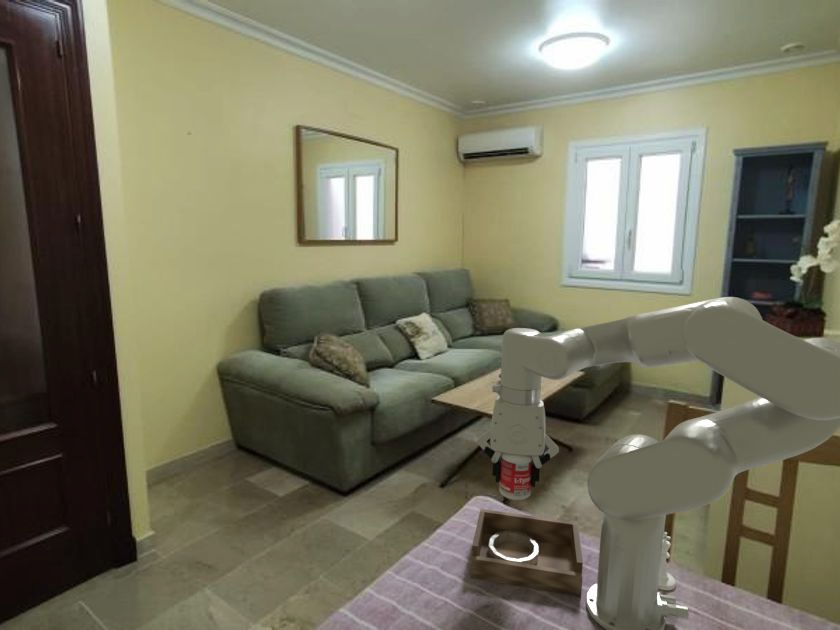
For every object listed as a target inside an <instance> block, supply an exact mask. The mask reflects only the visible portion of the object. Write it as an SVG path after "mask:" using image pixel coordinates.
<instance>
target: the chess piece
mask: <svg viewBox="0 0 840 630" xmlns="http://www.w3.org/2000/svg"><path fill="white" fill-rule="evenodd" d="M670 541H671V536H668V532H667V531H664V537H663V545H662V555H661V565H660V575H659V585H658V590H663V591H672V590H674V589H675V588H676V579H675V578H674V577H673V575H672V574H671V573H668V572H667V559H670V558H671V555H670V553H669V552H668V551H669V549H670V547H671V545H672V544H671V542H670Z"/></svg>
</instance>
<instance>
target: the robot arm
mask: <svg viewBox="0 0 840 630" xmlns="http://www.w3.org/2000/svg"><path fill="white" fill-rule="evenodd" d="M759 311H760V310H758V308H757V307H756V306H754V304H752V302H749V301H747V300H746V299H743V298H740V297H735V296H726V297H725V296H724V297H718V298H712V299H706V300H702V301H697V302H692V303H687V304H683V305H678V306H674V307H669V308H664V309H659V310H654V311H648V312H644V313H639V314H635V315H630V316H627V317H625V318H622V319H617V320H612V321H607V322H602V323H597V324H592V325H587V326H583V327H578V328H574V329H569V330H565V331H562V332H559V333H557V334H553V335H549V336H543V334H542V332H540V331H539V330H537V329H533V328H524V327H513V328H508V329H507V330H505V331H504V333H503V335H502V340H501V341H502V342H501V345H502V346H501V363H500V382H499V383H498V384H496V385H492V390H491V391H492V393H496V394H498V396H497V397H496V399H495V402H494V405H493V410H492V415H491V416H492V417H491V426H490V428H488V429H487V431H485V432H484V433H482V434H481V435H480V436H479V437H478V438H477V440H476V443H477V445H478V446H479V447H480V448H481V449H482V450H483V452H484V453H485V454H486V455H487V456H488V457H489V459H490V460H491V462H492V473H491V474H492V476H493V477H495V483H497V484H499V481H500V461H501V454H502V453H508V454H516V455H524V456H532V459H533V465H532V481H531V488H536V482H538V483H539V482H540V474H541V473H540V471H541V468H542V466H543V465H545V464H546V463H548V461H550V460H551V459H552V458H554V457H555V456H556V455H557V454H559V452H560V448H559V446H558V445H557V443H555V441H553V439H552V438H551V437H550V436H549V435H548V434H547V433H546V411H545V410H546V409H545V405H544V401H543V400H542V399H541V390H542V389H541V388H542V378H545V379H549V380H552V381H560V380H563V379H566V378H567V377H569V376H572V375H574V374H575V373H576V372H577V373H578V372H579V371H581V370H583V369H586V368H591V367H596V366H602V365H607V364H608V365H609V364H615V363H632V364H636V365H638V366H640V367H643V368H655V367H656V368H657V367H663V366H670V365H675V364H683V363H690V362H691V363H692V362H698V361H699V363H701V364H703V365H704V366H706V367H708V368H710V369H711V370H713V371H714V372H715V373H718V374H719V375H721V376H722V377H724V378H727V379H728V380H730V381H731V382H733V383H735V384H736V385H739V386H740V387H742V388H744V389H746V390H747V391H749V392H750V393H751V392H752V393H753V394H754V395H756V396H758V397H756V398H754V399H751V400H749V401H746V402H743V403H740V404H738V405H735V406H731V407H729V408H726V409H723V410H719V411H715V412H713V413H710V414H706V415H703V416H700V417H696V418H691V419H688V420H687V419H686V420H685V421H683V422H681V423H679V424H677V425H676V426H675V427H673V429H672V430H671V431H670V432H669V433H668V434H667V436H666V437H665V438H664V439H663V440H660V441H658V440H657V439H655V438H653V437H652V436H649V435H645V434H629V435H626V436H625V437H622V438H621V439H619V440H617V441H615V442H614V444H613V445H611V447H609V448H608V449H607V450H606V451H605V452H604V454H603V455H601V456H600V457H599V458H598V460H597V461H596V462H595V463H594V464H593V465H592V467H591V468H590V471H589V473H588V475H587V483H586V484H587V491H588V496H589V497H590V500H591V501H592V503H593V505H595V507H596V508H597V509H598V510H599V511H600V512H601V513H602V516H601V527H600V538H599V539H600V541H599V554H598V567H597V581H596V583H595V584H593V585H592V586H591V587H590V588H589V589H588V591H587V593H586V598H585V599H586V601H585V602H586V608H587V611H588V613H589V614H590V617H592V619H593V620H594V621H595V623H598V624H599V625H600V626H601V627H602V628H604V629H605V630H665V628H666V621H667V620H666V618H668V616H669V617H670V616H671V617H674V618H678V619H683V620H689V617H690V615H689V608H688V606H687V605H682V604H677V597H676V596H674V595H669V594H662V593H661V592H659V589H658V585H659V575H660V565H661V555H662V545H663V539H664V538H663V537H664V532H665V526H666V525H665V524H666V520H667V519H666V517H667V515H672V514H677V513H681V512H685V511H686V512H687V511H690V510H696V509H700V508H703V507H705V506H708V505H710V504H713V503H714V502H716V501H718V500H719V499H721V498H722V497H723V496H725V494H727V492H728V490H729V489H730V488H731V486H732V484H733V481H734V479H735V477H736V476H738V474H740V473H742V472H746V471H748V470H752V469H756V468H760V467H764V466H766V465H770V464H773V463H776V462H780V461H783V460H787V459H790V458H793V457H797V456H798V455H799V456H800V455H801V454H804V453H807V452H809V451H811V450H813V449H815V448H816V447H817V448H818V446H820V445H821V444H823V443H825V442H826V441H828V440H829V439H830V438H831V437H832V436H834V434H835V433H836V432H838V430H840V342H839V341H838V340H835V339H831V338H826V337H811V338H805V339H803V338H800V337H798V336H796V335H793V334H791V333H789V332H787V331H784V330H783V329H780V328H778V326H777V327H776V326H774V325H773V324H770V323H768V322H767V321H765V320H763V317H762V316H761V313H760V312H759ZM488 440H490V441H489V442H490V443H488ZM546 447H547V448H548V449H547V450H546V451H545V449H546Z"/></svg>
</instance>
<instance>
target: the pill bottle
mask: <svg viewBox="0 0 840 630" xmlns="http://www.w3.org/2000/svg"><path fill="white" fill-rule="evenodd" d="M500 458H501V461H500V480H499V482H498V487H499V488H498V491H499V493H500V494H501V495H502V496H503V497H505V498H506V499H509V500H512V501H522V500H526V499H527V498H529V497H530V496H531V493H532V486H531V481H532V465H533V462H534V461H533V459H532V456H524V455H516V454H508V453H502V454H501V456H500Z"/></svg>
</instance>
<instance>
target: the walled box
mask: <svg viewBox="0 0 840 630" xmlns="http://www.w3.org/2000/svg"><path fill="white" fill-rule="evenodd" d="M578 525H579V524H578V522H576V521H570V520H569V521H568V520H563V519H555V518H549V517H541V516H540V517H539V516H533V515H528V514H527V515H526V514H518V513H513V512H512V513H510V512H505V511H498V510H491V509H483V508H480V510H479V513H478V519H477V522H476V528H475V533H474V536H473V541H472V547H471V551H472V552H471V559H470V560H471V561H470V562H471V563H470V564H471V565H470V578H471V579H475V580H476V579H477V580H483V581H488V582H493V583H494V582H495V583H498V584H499V583H501V584H504V585H505V584H506V585H511V586H512V585H513V586H518V587H523V588H529V589H534V590H540V591H546V592H553V593H557V594H558V593H559V594H563V595H564V594H565V595H569V596H576V597H580V598H581V597H582V589H583V578H584V577H583V568H584V567H583V565H584V563H583V561H584V560H583V555H582V547H581V541H580V531H579V526H578ZM503 531H515V532H521V533H523V534H525V535H527V536H529V537H531V538H533V540H534V541H535V542H536V543H537V544H538V563H537V564H536V565H530V564H523V563H517V562H511V561H505V560H499V559H493V558H490V556H489V542H490V538H491V537H492V536H493V535H495V534H496V533H498V532H503ZM494 548H495V549H496V550H497V552H498V553H500V554H502V555H504V556H506V557H509V558H515V559H520V558H526V557H529V556H530V555H531V554H532V552H531V550H530V549H529V548H528V547H526V546H524V545H522V544H520V543H515V542H504V543H499V544H498V545H497V546H496V547H494Z"/></svg>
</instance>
